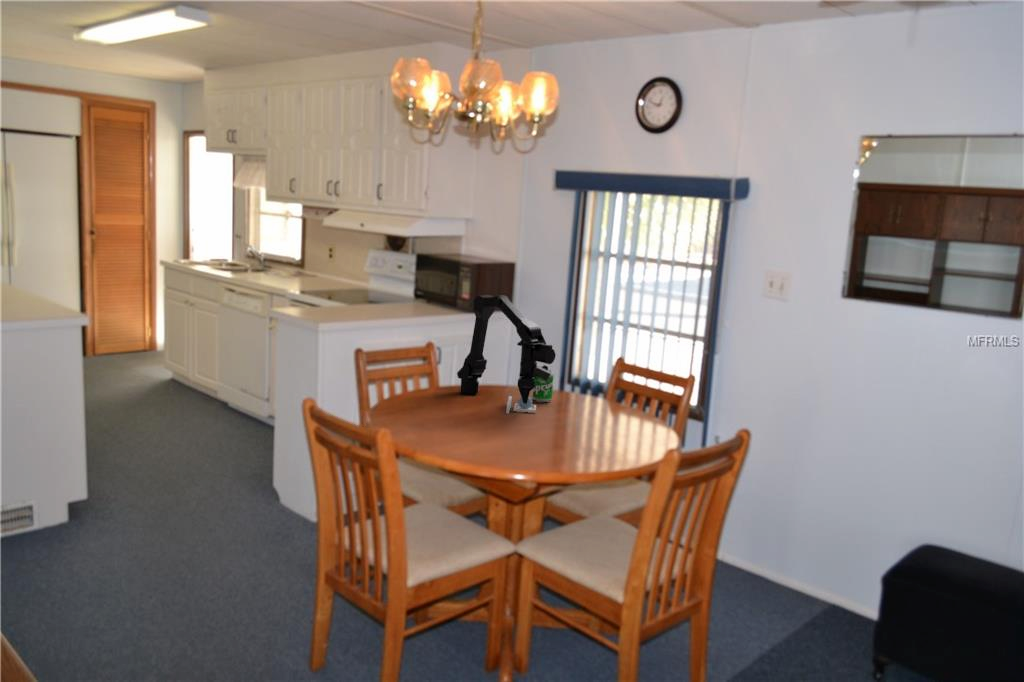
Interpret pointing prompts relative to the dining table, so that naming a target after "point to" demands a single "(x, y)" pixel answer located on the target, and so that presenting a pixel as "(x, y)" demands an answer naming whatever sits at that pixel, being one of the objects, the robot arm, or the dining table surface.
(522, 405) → the ball
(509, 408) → the wall
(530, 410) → the coaster
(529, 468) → the dining table surface
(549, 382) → the soda can
